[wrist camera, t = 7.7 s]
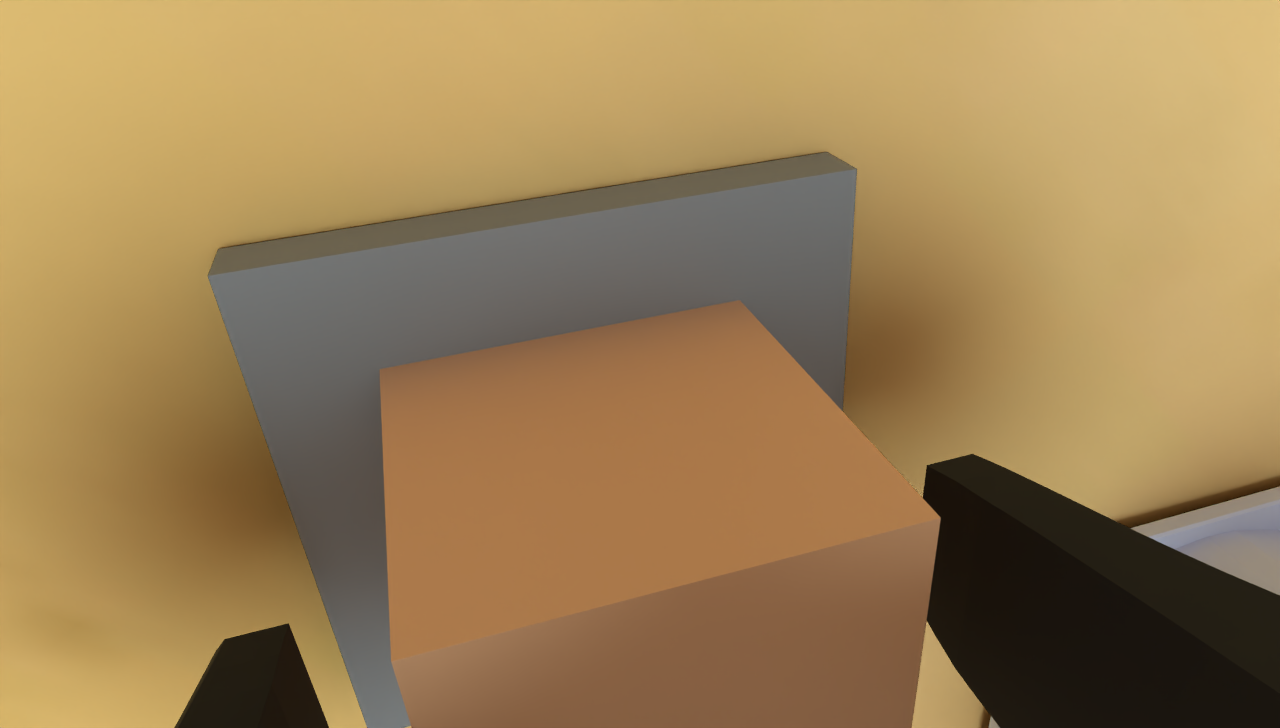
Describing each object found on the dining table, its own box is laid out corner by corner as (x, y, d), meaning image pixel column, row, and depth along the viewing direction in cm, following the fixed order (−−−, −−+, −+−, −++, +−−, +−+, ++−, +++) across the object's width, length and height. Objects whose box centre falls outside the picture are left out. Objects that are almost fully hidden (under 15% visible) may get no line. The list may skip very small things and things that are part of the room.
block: (739, 299, 11) (939, 517, 7) (742, 563, 13) (896, 833, 9) (378, 369, 10) (390, 661, 6) (448, 639, 12) (488, 974, 8)
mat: (826, 151, 11) (856, 169, 10) (810, 575, 15) (831, 608, 14) (218, 248, 10) (207, 276, 9) (370, 694, 13) (370, 737, 13)
